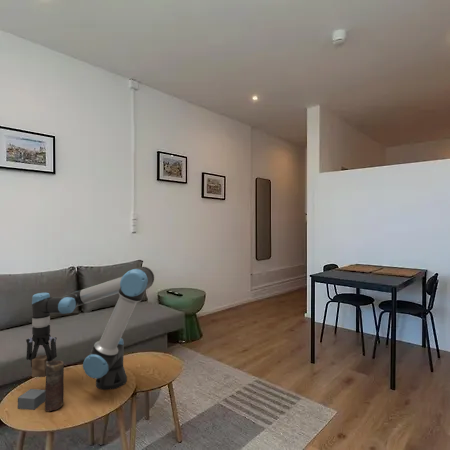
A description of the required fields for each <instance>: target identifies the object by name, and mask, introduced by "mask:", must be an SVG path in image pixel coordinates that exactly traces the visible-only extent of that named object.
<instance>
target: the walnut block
mask: <svg viewBox="0 0 450 450" xmlns="http://www.w3.org/2000/svg"><path fill="white" fill-rule="evenodd" d="M47 360H48V359H47V355H46V354H44V355H43V354H41V355H36V358H34V359H33V360H32V367H31V378H46V361H47Z"/></svg>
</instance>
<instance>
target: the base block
mask: <svg viewBox="0 0 450 450" xmlns="http://www.w3.org/2000/svg"><path fill="white" fill-rule="evenodd" d="M45 390H46V389H38V388H36V389H35V388H30V389H28V390H27V391H25V392H23V394H21V395H20V396H18V397H17V409H20V410H27V411H28V410H31V411H32V410H33V411H35V410H36V409H38V407H40V406H41V405H42V404H43V403H44V404H45Z"/></svg>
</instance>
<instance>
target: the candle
mask: <svg viewBox="0 0 450 450" xmlns="http://www.w3.org/2000/svg"><path fill="white" fill-rule="evenodd" d="M64 365H65V363H64V360H55V359H53V361H49V362H47V363H46V376H45V389H44V390H45V402H44V404H45V405H44V410H45V411H46V412H51V411H56V410H58V409H60V408H62V406H63V405H64V403H65V402H64V400H65V398H64V397H65V396H64V393H65V391H64V387H65V386H64V382H65V379H64V377H65V376H64V375H65V374H64V373H65V367H64Z"/></svg>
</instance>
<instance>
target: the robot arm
mask: <svg viewBox="0 0 450 450" xmlns="http://www.w3.org/2000/svg"><path fill="white" fill-rule="evenodd" d="M154 282H155V274H154V272H153V270H152V269H150V268H149V267H147V266H140V267H135V268H133V269H130V270H128V271H126V273H124V274H123V275H122V276H119V277H116V278H114V279H110V280H108V281H105V282H102V283H99V284H96V285H92V286H90V287H89V286H88V287H86V288H83V289H79V290H76V291H75V290H74V291H73V292H71V293H68V294H66V295H63V296H59V297H51V295H50V293H49V292H37V293H35V294H33V295H32V296H31V309H32V312H31V314H32V315H31V320H32V321H31V326H32V328H31V329H32V332H31V333H32V334H31V335H32V336H30V337H28V338H27V339H25V341H26V356H25V357H26V360H27V361H28V360H29V361H30V368H32V360H33V359H34V358H36V357H37V356H38V352H39V348H40V346H42V347H43V348H44V351H45V352H44V353H45V355H47V359H48V360H47V361H46V363H47V362H49V361H53V360H55V359H56V358H57V356H58V355H57V343H56V342H57V337H54V336H53V337H52V336H51V325H50V324H51V314H63V315H64V314H71V313H73V312H74V310H76V308H77V307H79V306H83V305H85V304H89V303H92V302H95V301H98V300H101V299H105V298H107V297H111V296H114V295H117V294H118V295H119V297H118V299H117V302H116V304H115V306H114V308H113V310H112V313H111V315H110V317H109V319H108V321H107V324H106V325H105V328H104V330H103V333H102V335H101V337H100V339H99V340H98V341H95V343H93V344H94V345H93V347H92V349H91V351H90V353H89V355H87V356H86V357H85V358H84V360H83V363H82V369H83V370H84V371H83V372H84V373H85V374H86V376H87V377H89V378H92V379H95V387H96V388H97V389H99V390H103V391H108V390H115V389H118V388H121V387H123V386H124V385H125V384H126V383H127V380H128V376H127V373H126V370H125V367H124V347H125V346H124V345H125V343H124V339H123V338H122V337H123V335H124V332H125V330H126V327H127V326H128V323H129V321H130V318H131V317H132V314H133V312H134V310H135V308H136V306H137V304H138V303H140V302H141V301H142V300H143V298H144V296H145V294H146V292H147V290H148V289H150V287H152V285H153V284H154Z"/></svg>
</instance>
